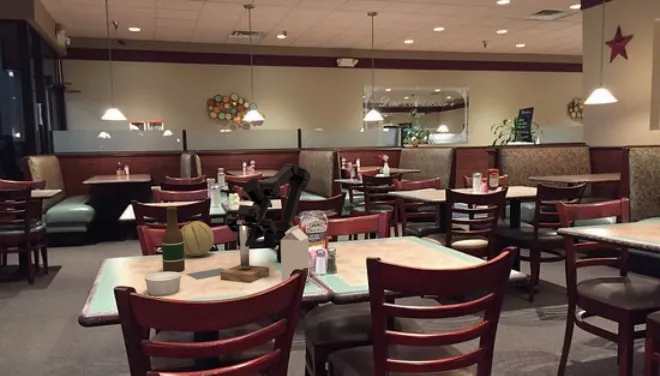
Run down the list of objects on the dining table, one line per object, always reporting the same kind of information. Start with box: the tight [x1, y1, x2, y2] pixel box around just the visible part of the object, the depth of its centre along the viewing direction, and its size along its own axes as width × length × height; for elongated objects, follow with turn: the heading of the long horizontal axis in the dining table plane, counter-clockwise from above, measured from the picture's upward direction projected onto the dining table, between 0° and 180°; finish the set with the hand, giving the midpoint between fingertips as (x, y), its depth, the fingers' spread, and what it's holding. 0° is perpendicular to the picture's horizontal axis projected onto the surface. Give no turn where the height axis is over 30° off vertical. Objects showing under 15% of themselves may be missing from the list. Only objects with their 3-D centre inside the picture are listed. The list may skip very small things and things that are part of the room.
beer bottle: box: [161, 206, 186, 273], centre depth 198 cm, size 8×8×24 cm
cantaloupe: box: [179, 220, 215, 257], centre depth 225 cm, size 15×15×15 cm
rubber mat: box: [185, 267, 226, 280], centre depth 193 cm, size 14×10×1 cm
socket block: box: [220, 263, 270, 284], centre depth 187 cm, size 12×12×3 cm
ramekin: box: [144, 271, 182, 296], centre depth 172 cm, size 11×11×5 cm
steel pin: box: [239, 225, 250, 267], centre depth 186 cm, size 3×3×14 cm
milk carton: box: [280, 224, 310, 283], centre depth 179 cm, size 7×7×19 cm
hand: (242, 245), depth 185 cm, fingers closed on steel pin, 3 cm apart
